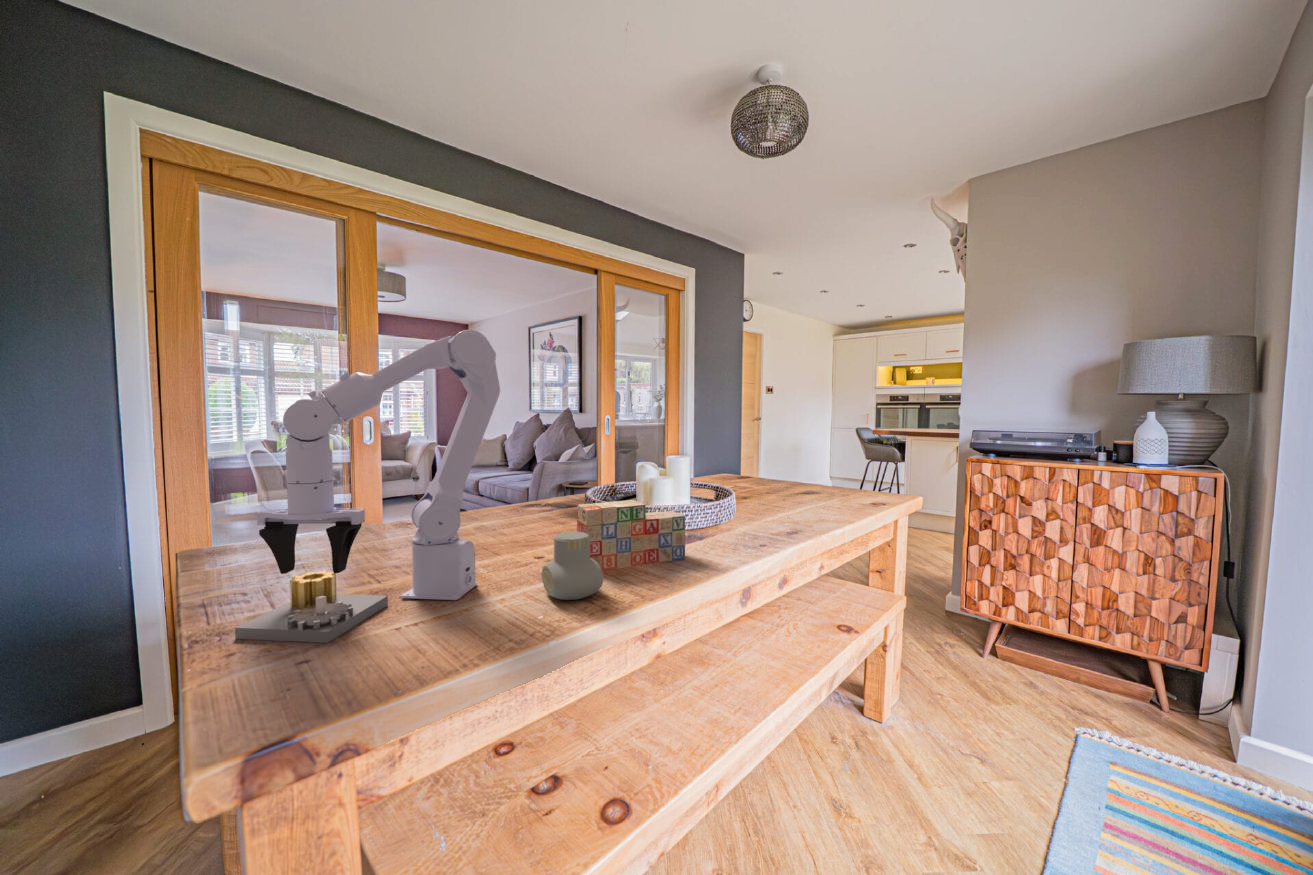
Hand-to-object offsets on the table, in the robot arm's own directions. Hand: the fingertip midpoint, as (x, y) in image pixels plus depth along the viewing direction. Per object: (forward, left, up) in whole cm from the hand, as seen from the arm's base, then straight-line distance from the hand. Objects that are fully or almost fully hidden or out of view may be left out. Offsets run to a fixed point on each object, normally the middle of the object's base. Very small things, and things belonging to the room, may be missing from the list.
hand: (313, 571), depth 76 cm
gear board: (-3, +3, -6) cm, 7 cm away
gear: (-5, +5, -5) cm, 9 cm away
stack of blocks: (-44, -31, -7) cm, 54 cm away
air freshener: (-37, -11, -7) cm, 39 cm away
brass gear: (0, 0, -5) cm, 5 cm away
